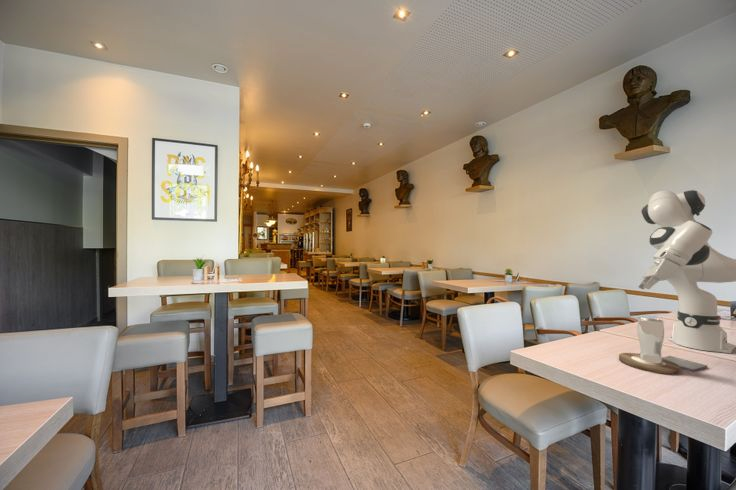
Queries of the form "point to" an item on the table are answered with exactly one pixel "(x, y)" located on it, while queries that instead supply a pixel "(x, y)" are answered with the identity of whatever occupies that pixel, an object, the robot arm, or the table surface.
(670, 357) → the square charcoal tile
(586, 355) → the table surface
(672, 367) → the round walnut board
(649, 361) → the beer glass
